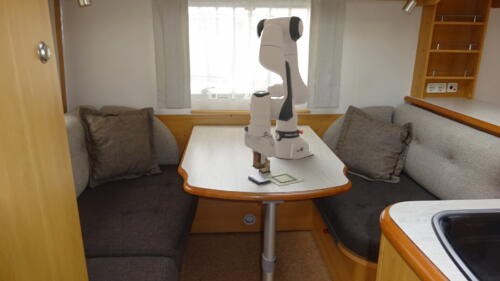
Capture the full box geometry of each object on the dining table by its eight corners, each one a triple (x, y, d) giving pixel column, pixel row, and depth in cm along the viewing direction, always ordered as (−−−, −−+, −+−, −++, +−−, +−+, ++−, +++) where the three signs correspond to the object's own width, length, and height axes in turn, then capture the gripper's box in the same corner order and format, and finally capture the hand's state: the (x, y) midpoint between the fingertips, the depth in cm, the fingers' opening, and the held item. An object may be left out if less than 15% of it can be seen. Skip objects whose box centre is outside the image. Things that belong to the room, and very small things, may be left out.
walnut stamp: (260, 165, 160) (260, 150, 158) (265, 168, 157) (265, 152, 155) (252, 166, 158) (252, 151, 156) (257, 169, 155) (257, 153, 153)
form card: (287, 172, 170) (287, 171, 170) (303, 180, 160) (304, 179, 160) (264, 177, 163) (264, 176, 163) (279, 186, 153) (279, 185, 153)
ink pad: (259, 176, 165) (259, 173, 164) (270, 182, 157) (270, 180, 157) (248, 178, 162) (248, 175, 161) (258, 185, 154) (258, 182, 154)
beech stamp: (265, 169, 173) (266, 155, 171) (270, 172, 170) (270, 157, 168) (258, 171, 171) (258, 156, 169) (263, 173, 168) (263, 159, 166)
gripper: (280, 134, 146) (278, 167, 150) (254, 124, 163) (253, 154, 167) (267, 136, 143) (265, 169, 147) (242, 126, 160) (241, 156, 164)
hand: (259, 161), depth 157 cm, fingers closed on walnut stamp, 4 cm apart
